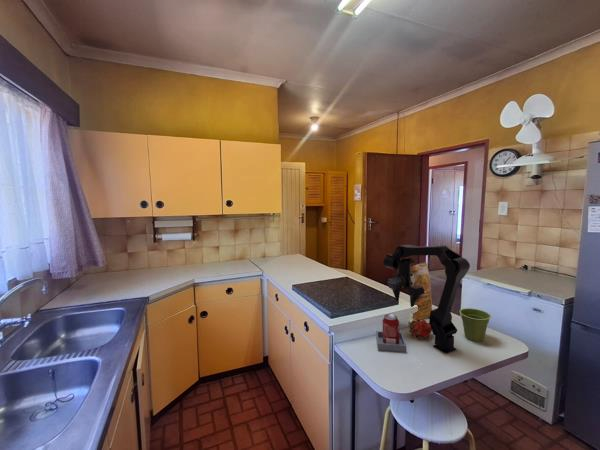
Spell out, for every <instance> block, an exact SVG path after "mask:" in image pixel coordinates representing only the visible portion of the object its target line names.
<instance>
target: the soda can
mask: <svg viewBox="0 0 600 450" xmlns="http://www.w3.org/2000/svg"><path fill="white" fill-rule="evenodd" d="M382 332H383V343H384V344H399V333H400V321H399V319H398V316H397V315H396V314H392V313H388V314H384V315H383V319H382Z"/></svg>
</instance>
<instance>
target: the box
mask: <svg viewBox="0 0 600 450" xmlns="http://www.w3.org/2000/svg"><path fill="white" fill-rule="evenodd" d="M375 334H376V335H375V337H376V346H377V351H378V352H390V353H391V352H392V353H404V354H406V353H407V344H406V341H405V338H404V335H403V333H402V332H399V344H384V343H383V331H379V330H378V331H376V332H375Z"/></svg>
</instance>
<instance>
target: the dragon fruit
mask: <svg viewBox="0 0 600 450" xmlns="http://www.w3.org/2000/svg"><path fill="white" fill-rule="evenodd" d="M409 333H410V334H411V335H412V337H416V338H420V339H423V340H424V339H426V338H429V336H430V335H431V334H432V333H433V332H432V328H431V325H430V324H429V322H427V321H426V320H425V319H421V320H414V319H413V320H411V322H410V324H409Z"/></svg>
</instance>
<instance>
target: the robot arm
mask: <svg viewBox="0 0 600 450" xmlns="http://www.w3.org/2000/svg"><path fill="white" fill-rule="evenodd" d="M412 256H435V257H437V259H438V260H439V261H440V264H441V265H442V266H443V267H445V269H444V273H445V277H446V279H445V283H444V285H443V289H442V293H441V296H440V300H439V302H438V306H437V308H434V309H432V310H431V312H430V316H428V317H427V319H428V320H429V321H428V323H429V324H430V325H431V328H432V332H431V333H432V335H433V336H434V344H433V345H432V347H433V348H435V349H436V350H437V351H440V352H441V353H444V354H446V355H447V354H450V353H452V352H455V351H457V348H456V347H455V336H454V335H456V334H457V333H458V329H457V327H456V326H455V324H454V323H453V316H452V313H451V312H452V307H453V304H454V301H455V298H456V295H457V292H458V288H459V285H460V283H461V281H462V280H463V279H464V277H465V276H466V275H467V273H468V272H469V269H470V267H471V265H470V263H469V261H468V259H466V258H464V257H462V256H461V255H460V254H459V253H457V252H455V251H453V250H452V249H450V247H448V246H447V245H445V244H444V245H434V246H433V245H429V246H425V245H424V246H416V245H414V244H401V245H397V246H396V248H395V251H394V253H392V254H391V253H388V254H386V256H385V257H384V260H383V266H384V267H385V268H387V269H392V270H397V272H395V277H392V278H388V279H386V283H385V285H386V286H388V288H389V289H390V290H392V292H393V295H394V298H395V301H396V302H397V301H399V300H400V293H401V288H403V289H406V290H407V291H408V293H407V295H408V296H409V299H410V300H409V303H410V308H413V306H414V304H415V302H416V300H417V298H418V297H419V296H420V295H422V294H424V288H423V287H421V286H418V285H415V286H411V285H413V282H411V276H413V274H412V273H411V267H412V264H415V263H416V261H415V259H413V258H412Z"/></svg>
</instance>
